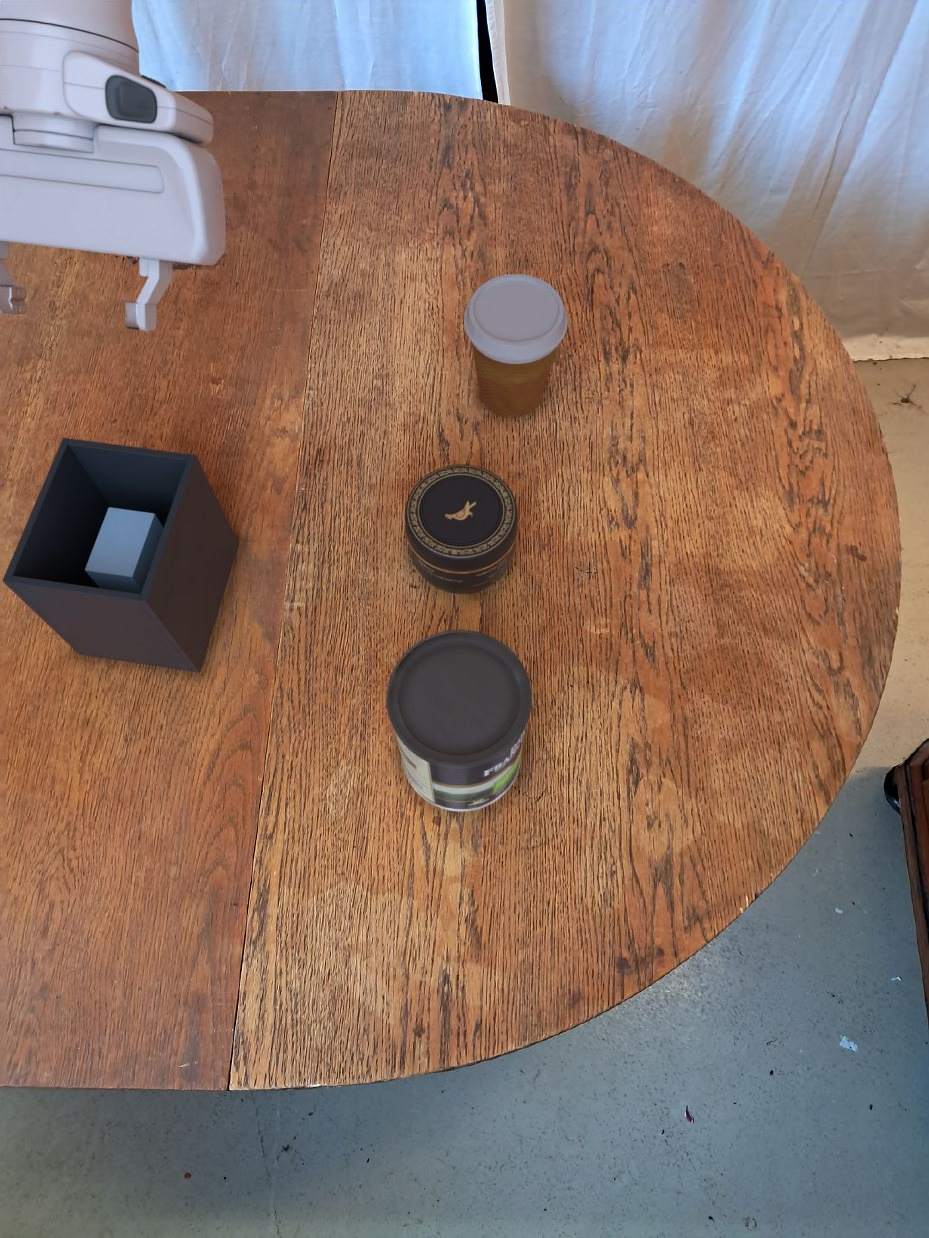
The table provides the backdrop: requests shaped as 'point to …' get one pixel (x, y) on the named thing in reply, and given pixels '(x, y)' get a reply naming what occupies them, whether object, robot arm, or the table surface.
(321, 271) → the table surface
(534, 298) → the disposable coffee cup
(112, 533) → the blue-gray rectangular block
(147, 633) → the trash can
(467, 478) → the jar
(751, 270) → the table surface
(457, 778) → the coffee can
